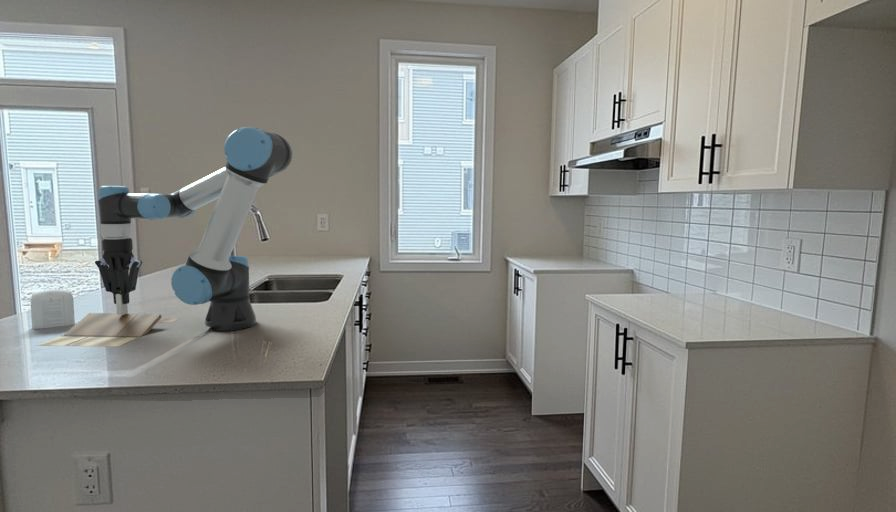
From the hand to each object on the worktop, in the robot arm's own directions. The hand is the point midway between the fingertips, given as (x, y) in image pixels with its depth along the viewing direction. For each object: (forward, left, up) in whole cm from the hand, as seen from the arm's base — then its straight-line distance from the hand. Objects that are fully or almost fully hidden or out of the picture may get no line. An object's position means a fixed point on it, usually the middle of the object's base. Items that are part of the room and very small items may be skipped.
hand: (122, 314), depth 146 cm
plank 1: (0, +4, -3) cm, 5 cm away
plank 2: (-1, -8, -5) cm, 10 cm away
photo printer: (+22, -1, -6) cm, 23 cm away
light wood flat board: (0, +14, -5) cm, 15 cm away
